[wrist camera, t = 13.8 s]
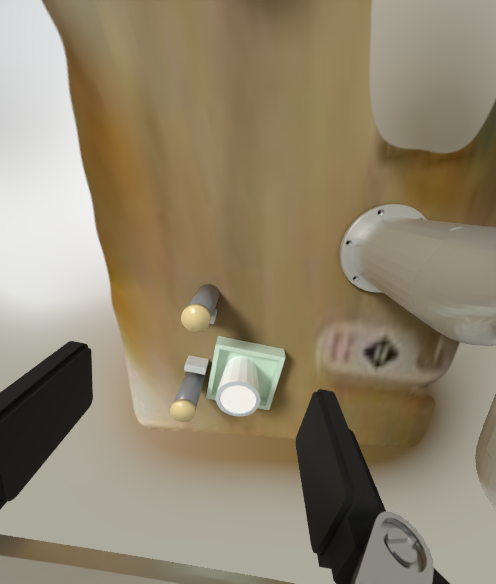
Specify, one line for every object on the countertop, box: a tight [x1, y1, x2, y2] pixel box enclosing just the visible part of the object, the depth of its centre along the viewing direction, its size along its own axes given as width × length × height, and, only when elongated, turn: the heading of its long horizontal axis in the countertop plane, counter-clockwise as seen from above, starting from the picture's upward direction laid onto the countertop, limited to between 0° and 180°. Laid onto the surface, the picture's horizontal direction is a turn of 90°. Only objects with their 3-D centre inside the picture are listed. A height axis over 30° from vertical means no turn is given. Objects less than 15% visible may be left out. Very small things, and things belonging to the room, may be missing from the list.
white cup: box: [215, 357, 261, 416], centre depth 40 cm, size 7×7×7 cm
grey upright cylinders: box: [170, 284, 220, 422], centre depth 38 cm, size 4×20×9 cm, turn 168°
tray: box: [206, 336, 285, 410], centre depth 43 cm, size 12×12×2 cm
